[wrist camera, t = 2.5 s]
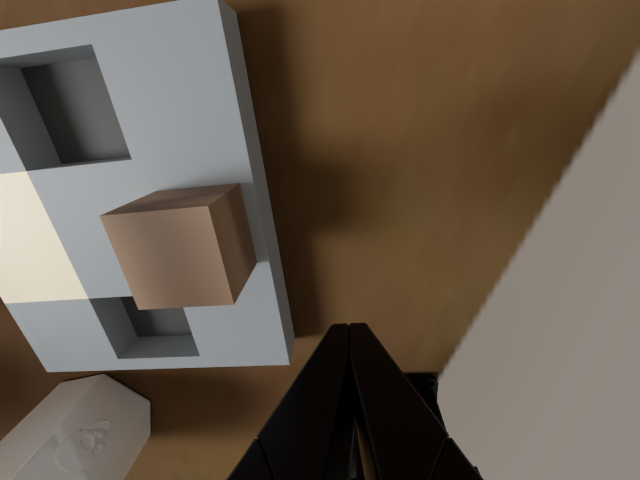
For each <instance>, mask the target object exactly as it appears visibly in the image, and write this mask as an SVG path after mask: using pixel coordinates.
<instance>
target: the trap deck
mask: <svg viewBox="0 0 640 480" xmlns="http://www.w3.org/2000/svg"><path fill="white" fill-rule="evenodd" d="M234 183H240V185H241V189H242V194H243V199H244V203H245V208H246V213H247V217H248V222H249V227H250V231H251V236H252V240H253V245H254V250H255V254H256V259H257V264H256V266H255V268H254V270H253V272H252V273H251V275H250V277H249V279H248V281H247V283H246V284H245V286H244V288H243V290H242V292H241V293H240V295H239V297H238V299H237V301H236V302H235V304H234V305H220V306H202V307H183V308H164V309H145V310H138V307H137V305H136V302H135V300H134V298H133V295H132V293H131V290H130V288H129V286H128V283H127V281H126V278H125V276H124V274H123V271H122V269H121V267H120V264H119V262H118V259H117V257H116V255H115V252H114V250H113V247H112V245H111V243H110V240H109V238H108V235H107V233H106V231H105V228H104V226H103V223H102V221H101V219H100V215H102V214H105V213H107V212H109V211H111V210H114V209H116V208H118V207H121V206H123V205H125V204H127V203H130V202H132V201H134V200H137V199H139V198H141V197H143V196H146V195H148V194H150V193H153V192H155V191H162V190H172V189H183V188H193V187H203V186H213V185H223V184H234ZM0 297H1V299H2V300H3V302H4V303H5V305H6V307H7V308H8V310H9V311H10V313H11V315H12V316H13V318H14V320H15V321H16V323H17V324H18V326H19V328H20V329H21V331H22V332H23V334H24V336H25V337H26V339H27V340H28V342H29V344H30V345H31V347H32V349H33V350H34V352H35V353H36V355H37V357H38V358H39V360H40V361H41V363H42V365H43V366H44V368H45V369H46V371H47V372H70V371H102V370H134V369H167V368H199V367H231V366H264V365H290V361H291V356H292V351H293V346H294V341H295V335H294V330H293V324H292V319H291V313H290V308H289V302H288V297H287V291H286V286H285V280H284V275H283V269H282V263H281V258H280V252H279V247H278V241H277V236H276V230H275V225H274V219H273V214H272V208H271V203H270V197H269V191H268V186H267V180H266V175H265V169H264V164H263V158H262V153H261V147H260V142H259V136H258V131H257V125H256V119H255V114H254V108H253V103H252V97H251V92H250V86H249V81H248V75H247V70H246V64H245V59H244V53H243V47H242V42H241V36H240V31H239V25H238V20H237V14H236V12H235V11H234V10H233V9H232V8H231V7H230V6H229V5H228V4H227V3H225V2H224V1H223V0H178V1H172V2H166V3H161V4H155V5H149V6H143V7H137V8H131V9H125V10H119V11H113V12H107V13H101V14H95V15H89V16H83V17H77V18H71V19H65V20H59V21H54V22H48V23H42V24H36V25H30V26H24V27H18V28H12V29H6V30H0Z"/></svg>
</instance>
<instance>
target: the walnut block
mask: <svg viewBox="0 0 640 480" xmlns="http://www.w3.org/2000/svg"><path fill="white" fill-rule="evenodd" d="M100 219H101V221H102V223H103V226H104V228H105V231H106V233H107V235H108V238H109V240H110V243H111V245H112V247H113V250H114V252H115V255H116V257H117V259H118V262H119V264H120V267H121V269H122V271H123V274H124V276H125V278H126V281H127V283H128V286H129V288H130V290H131V293H132V295H133V298H134V300H135V302H136V305H137V307H138V310H145V309H164V308H183V307H202V306H220V305H234V304H235V302H236V301H237V299H238V297H239V295H240V293H241V292H242V290H243V288H244V286H245V284H246V283H247V281H248V279H249V277H250V275H251V273H252V272H253V270H254V268H255V266H256V264H257V259H256V254H255V250H254V245H253V240H252V236H251V231H250V227H249V222H248V217H247V213H246V208H245V203H244V199H243V194H242V189H241V185H240V183H234V184H223V185H213V186H203V187H193V188H183V189H172V190H162V191H155V192H153V193H150V194H148V195H146V196H143V197H141V198H139V199H137V200H134V201H132V202H130V203H127V204H125V205H123V206H121V207H118V208H116V209H114V210H111V211H109V212H107V213H105V214H102V215H100Z"/></svg>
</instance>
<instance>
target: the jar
mask: <svg viewBox="0 0 640 480" xmlns="http://www.w3.org/2000/svg"><path fill="white" fill-rule="evenodd" d="M150 434H151V427H150V401H149V400H148V399H146V398H144V397H142V396H141V395H139V394H137V393H136V392H134V391H133V390H131V389H129V388H128V387H126V386H124V385H123V384H121V383H119V382H118V381H116V380H114V379H113V378H111V377H110V376H108V375H106V374H100V375H95V376H90V377H85V378H80V379H75V380H70V381H66V382H61V383H60V384H59V385H58V386H57V387H56V388H55V389H54V390H53V391H52V392H50V393H49V394H48V395H47V396H46V397H45V398H44V399H43V400H42V401H41V402H40V403H39V404H38V405H37V406H36V407H35V408H34V409H33V410H32V411H31V412H30V413H29V414H28V415H27V416H26V417H25V418H24V419H23V420H22V421H21V422H20V423H19V424H18V425H17V426H15V427H14V428H13V429H12V430H11V431H10V432H9V433H8V434H7V435H6V436H5V437H4V438H3V439H2V440H1V441H0V480H124V479H125V477H126V475H127V474H128V472H129V470H130V469H131V467H132V465H133V464H134V462H135V460H136V458H137V457H138V455H139V453H140V452H141V450H142V448H143V447H144V445H145V443H146V442H147V440H148V438H149V436H150Z"/></svg>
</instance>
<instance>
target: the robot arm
mask: <svg viewBox="0 0 640 480" xmlns="http://www.w3.org/2000/svg"><path fill="white" fill-rule="evenodd" d="M437 390H438V382H437V379H436V377H435V376H434V375H404V374H403V372H402V371H401V370H400V368H399V367H398V365H397V364H396V363H395V361H394V360H393V359H392V357H391V356H390V355H389V353H388V352H387V351H386V349H385V348H384V347H383V345H382V344H381V343H380V341H379V340H378V339H377V337H376V336H375V335H374V333H373V332H372V331H371V329H370V328H369V327H368V325H367V324H366V323H351V324H350V325H348V324H346V323H343V324H333V325H331V327H330V328H329V329H328V331H327V332H326V334H325V335H324V337H323V338H322V340H321V341H320V343H319V344H318V346H317V347H316V349H315V350H314V352H313V353H312V355H311V356H310V358H309V359H308V361H307V362H306V364H305V365H304V367H303V368H302V370H301V371H300V373H299V374H298V376H297V377H296V378H295V380H294V381H293V383H292V384H291V386H290V387H289V389H288V390H287V392H286V393H285V395H284V396H283V398H282V399H281V401H280V402H279V404H278V405H277V407H276V408H275V410H274V411H273V413H272V414H271V416H270V417H269V419H268V420H267V422H266V423H265V425H264V426H263V427H262V429H261V430H260V432H259V433H258V435H257V438H258V439H254V440H253V442H252V443H251V445H250V446H249V448H248V449H247V451H246V452H245V454H244V455H243V457H242V458H241V460H240V461H239V463H238V464H237V465H236V467H235V468H234V470H233V471H232V472H231V474H230V475H229V477H228V478H227V479H226V480H484V479H483V478H482V477H481V475H480V473H479V471H478V469H477V467H476V466H475V467H473V465H472V464H471V463H470V462H469V460H468V459H467V458H466V457H465V455H464V454H463V452H462V451H461V450H460V448H459V447H458V446H457V445H456V443H455V442H454V440H453V439H452V438H449V434H448V433H447V431H446V428H445V425H444V422H443V419H442V416H441V413H440V410H439V406H438V404H437Z"/></svg>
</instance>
